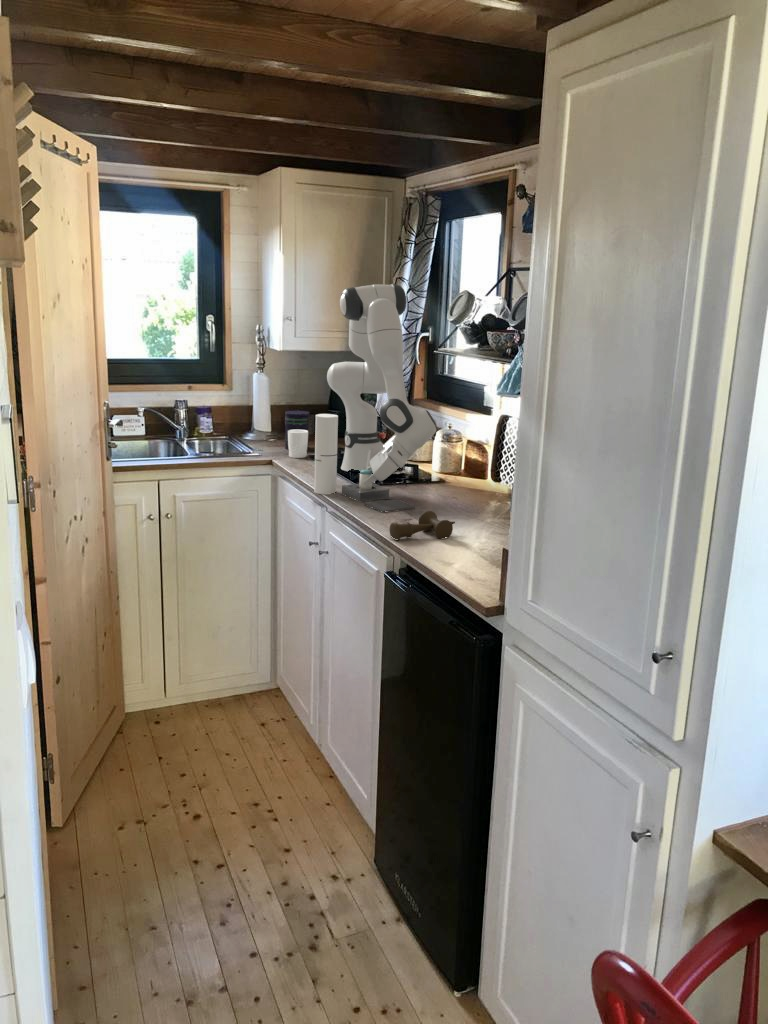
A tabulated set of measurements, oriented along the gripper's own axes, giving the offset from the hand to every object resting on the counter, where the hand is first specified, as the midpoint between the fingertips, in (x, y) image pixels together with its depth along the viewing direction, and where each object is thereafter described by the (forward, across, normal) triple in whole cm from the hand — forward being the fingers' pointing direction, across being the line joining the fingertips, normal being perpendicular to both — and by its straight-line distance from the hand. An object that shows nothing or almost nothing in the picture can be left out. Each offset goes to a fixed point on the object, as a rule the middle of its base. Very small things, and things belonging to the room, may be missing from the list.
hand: (363, 481), depth 269 cm
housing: (+3, 0, +4) cm, 5 cm away
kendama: (-6, +43, +14) cm, 45 cm away
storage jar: (+20, -77, -12) cm, 81 cm away
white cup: (+19, -62, -12) cm, 66 cm away
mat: (-2, +12, +9) cm, 15 cm away
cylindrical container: (+12, -5, -5) cm, 14 cm away
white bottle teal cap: (+3, 0, +4) cm, 5 cm away
